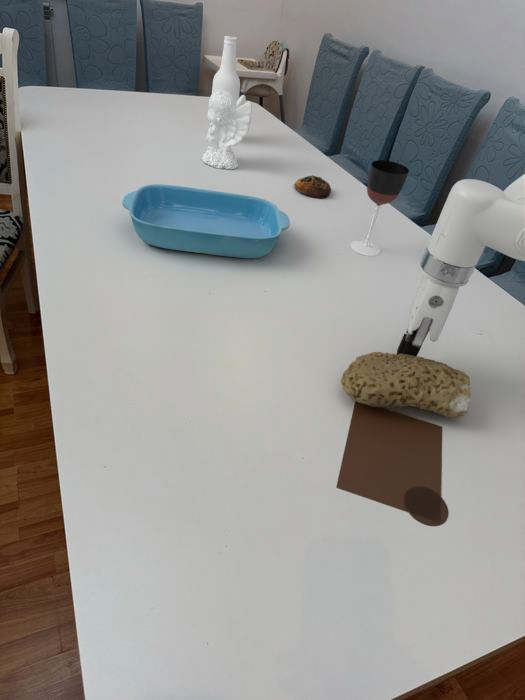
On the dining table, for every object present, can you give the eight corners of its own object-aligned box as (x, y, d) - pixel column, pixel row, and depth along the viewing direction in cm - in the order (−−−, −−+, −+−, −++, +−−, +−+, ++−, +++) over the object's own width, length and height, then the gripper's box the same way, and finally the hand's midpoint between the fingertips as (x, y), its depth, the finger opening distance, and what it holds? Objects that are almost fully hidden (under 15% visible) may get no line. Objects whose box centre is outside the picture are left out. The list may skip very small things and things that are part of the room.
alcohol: (204, 138, 167) (211, 35, 148) (214, 132, 174) (222, 32, 155) (228, 144, 166) (239, 41, 147) (237, 138, 173) (249, 38, 154)
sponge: (450, 390, 87) (348, 341, 86) (478, 366, 81) (368, 313, 80) (444, 453, 78) (330, 399, 78) (474, 432, 72) (351, 373, 72)
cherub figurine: (199, 152, 156) (204, 82, 144) (238, 155, 159) (246, 87, 147) (203, 168, 147) (209, 94, 134) (245, 171, 149) (254, 99, 137)
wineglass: (388, 253, 121) (416, 172, 109) (361, 258, 117) (387, 175, 105) (368, 238, 126) (392, 159, 114) (341, 242, 122) (363, 161, 110)
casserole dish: (281, 224, 125) (286, 197, 121) (288, 270, 108) (295, 241, 103) (131, 207, 120) (131, 178, 116) (115, 252, 103) (113, 220, 99)
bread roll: (321, 201, 139) (323, 183, 137) (286, 193, 144) (288, 176, 141) (337, 192, 148) (339, 175, 145) (304, 185, 152) (305, 169, 149)
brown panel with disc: (355, 399, 80) (355, 399, 80) (448, 428, 78) (448, 428, 78) (334, 493, 65) (335, 493, 65) (448, 532, 63) (448, 532, 63)
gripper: (473, 297, 68) (424, 390, 80) (470, 251, 80) (428, 339, 91) (419, 281, 69) (379, 376, 81) (424, 238, 81) (388, 326, 92)
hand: (405, 356), depth 86 cm, fingers closed
